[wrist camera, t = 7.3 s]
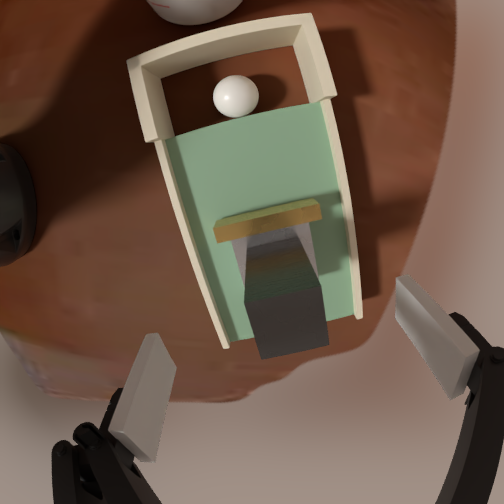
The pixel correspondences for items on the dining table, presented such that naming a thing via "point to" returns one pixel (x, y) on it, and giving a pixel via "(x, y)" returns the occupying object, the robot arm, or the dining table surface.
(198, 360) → the dining table surface
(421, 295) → the robot arm
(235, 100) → the ball
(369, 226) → the dining table surface
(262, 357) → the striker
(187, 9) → the mug
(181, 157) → the pitch
